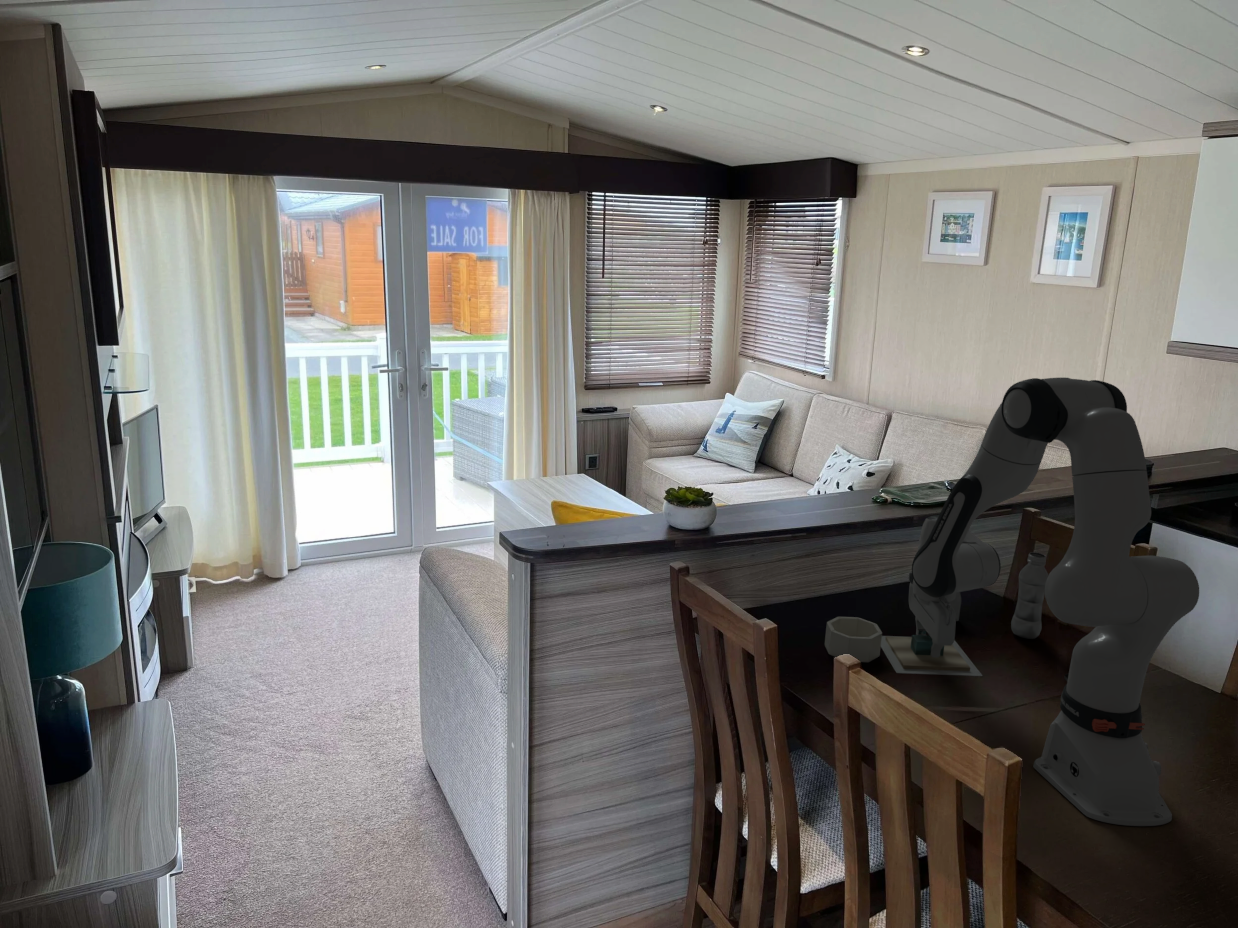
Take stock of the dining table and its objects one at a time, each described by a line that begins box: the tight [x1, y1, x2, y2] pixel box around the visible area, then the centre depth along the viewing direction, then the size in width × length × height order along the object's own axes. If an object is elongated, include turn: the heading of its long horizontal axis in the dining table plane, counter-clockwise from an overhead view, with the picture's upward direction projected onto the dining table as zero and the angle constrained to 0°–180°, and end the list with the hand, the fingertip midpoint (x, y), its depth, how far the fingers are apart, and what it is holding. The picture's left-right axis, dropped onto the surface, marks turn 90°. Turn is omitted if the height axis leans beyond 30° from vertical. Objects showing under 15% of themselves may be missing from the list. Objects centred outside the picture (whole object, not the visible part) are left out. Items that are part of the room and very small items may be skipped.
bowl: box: [824, 616, 883, 663], centre depth 199 cm, size 11×11×6 cm
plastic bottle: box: [1010, 551, 1049, 640], centre depth 209 cm, size 6×7×20 cm
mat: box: [880, 635, 983, 677], centre depth 199 cm, size 18×18×1 cm
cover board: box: [885, 634, 970, 671], centre depth 198 cm, size 14×14×4 cm
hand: (927, 646), depth 198 cm, fingers open, 8 cm apart
